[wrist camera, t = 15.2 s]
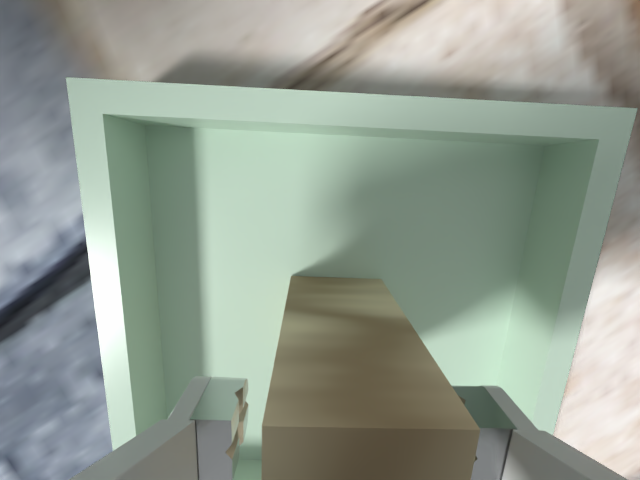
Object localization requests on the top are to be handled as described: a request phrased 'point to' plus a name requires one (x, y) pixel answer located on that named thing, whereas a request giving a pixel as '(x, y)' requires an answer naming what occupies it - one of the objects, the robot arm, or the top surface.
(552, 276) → the tray
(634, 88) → the top surface
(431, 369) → the birch block
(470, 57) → the top surface
